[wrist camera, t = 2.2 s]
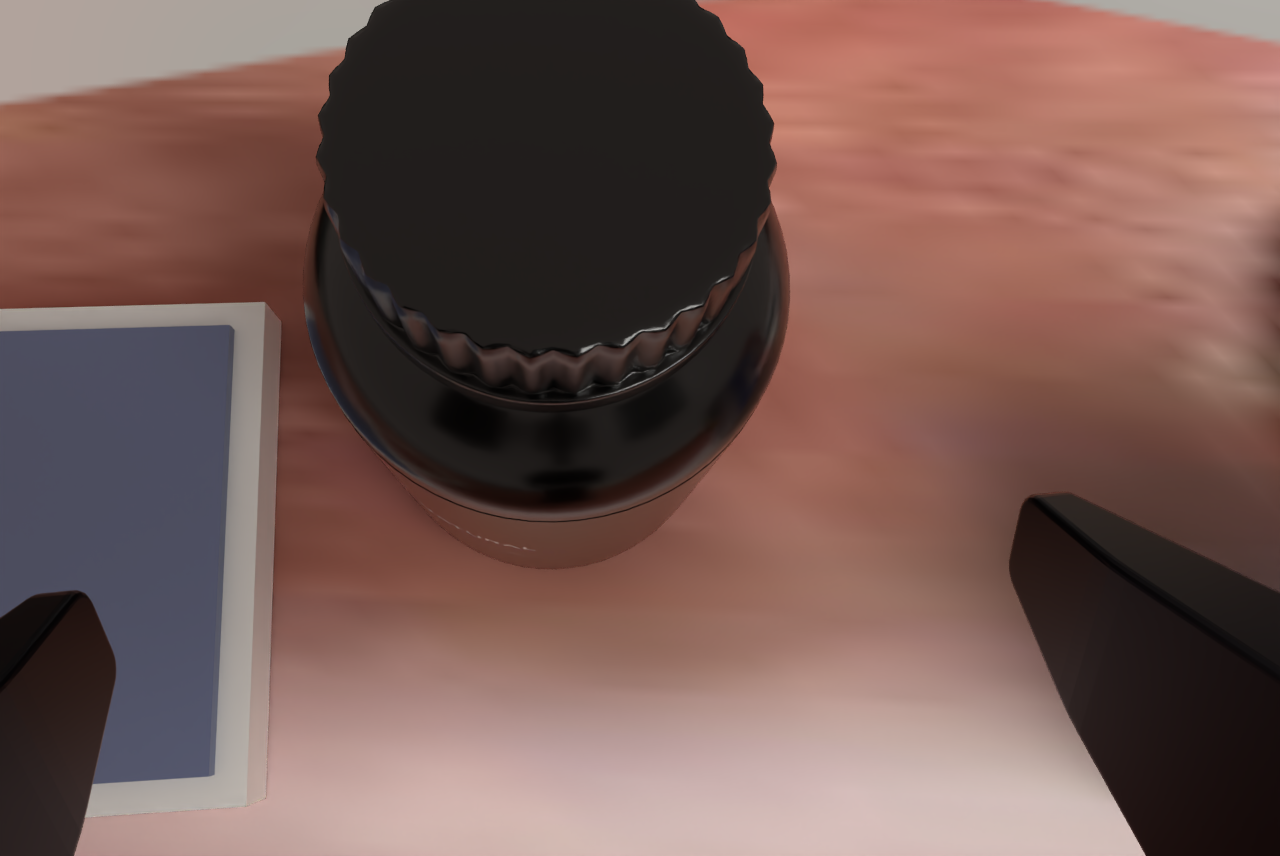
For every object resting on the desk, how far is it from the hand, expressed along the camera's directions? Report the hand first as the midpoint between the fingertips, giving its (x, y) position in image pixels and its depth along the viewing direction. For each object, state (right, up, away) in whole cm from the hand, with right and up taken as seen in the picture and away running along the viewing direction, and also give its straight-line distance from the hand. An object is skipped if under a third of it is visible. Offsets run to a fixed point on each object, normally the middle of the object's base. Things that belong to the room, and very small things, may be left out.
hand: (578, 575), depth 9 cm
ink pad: (-12, -1, +11) cm, 16 cm away
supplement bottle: (-1, +2, +12) cm, 12 cm away
